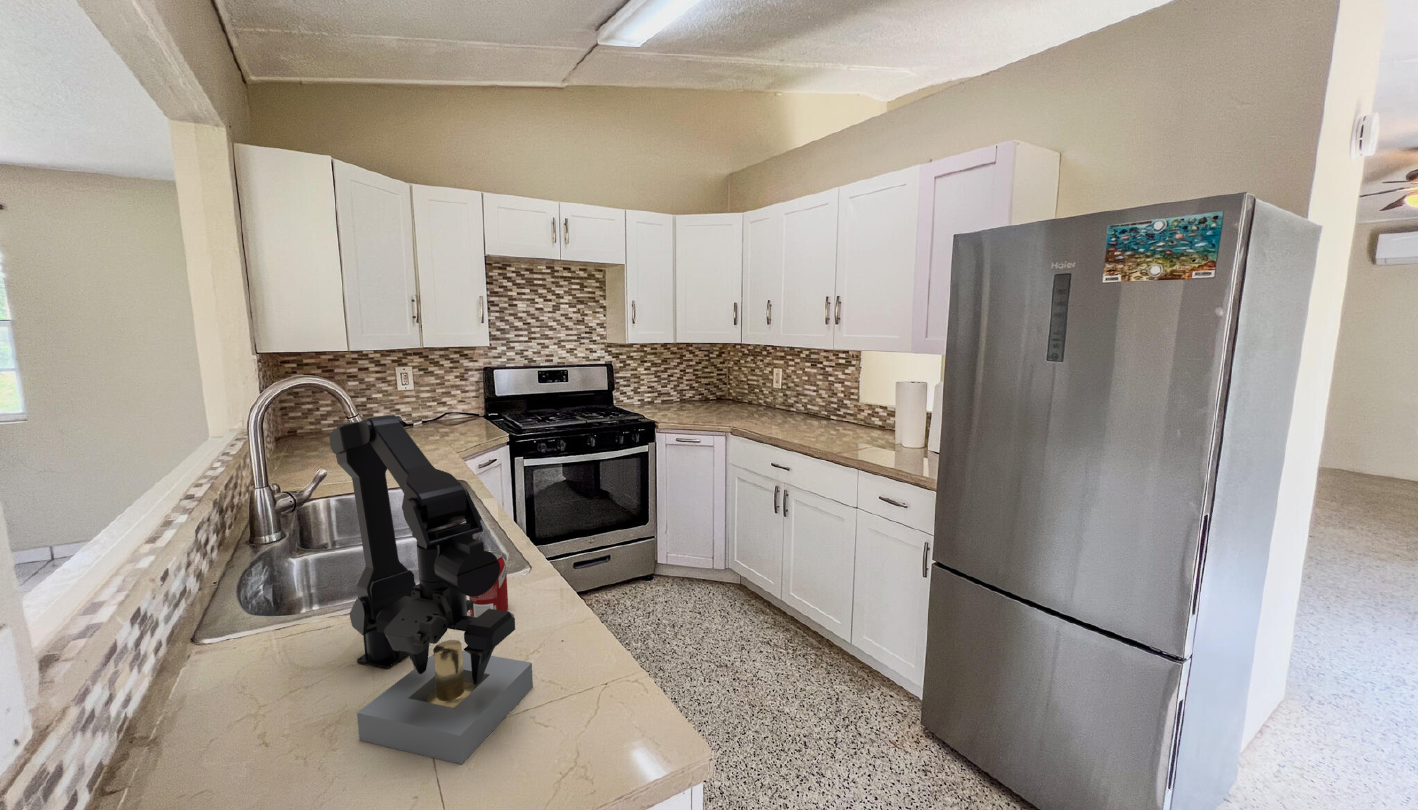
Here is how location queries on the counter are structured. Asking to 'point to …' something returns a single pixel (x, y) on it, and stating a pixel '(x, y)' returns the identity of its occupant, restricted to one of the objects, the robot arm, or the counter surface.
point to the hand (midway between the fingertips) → (449, 677)
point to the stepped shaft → (449, 675)
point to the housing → (444, 710)
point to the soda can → (493, 592)
